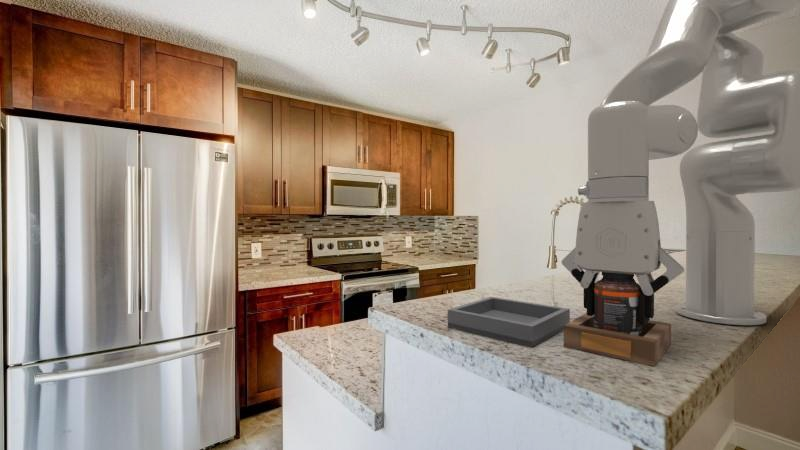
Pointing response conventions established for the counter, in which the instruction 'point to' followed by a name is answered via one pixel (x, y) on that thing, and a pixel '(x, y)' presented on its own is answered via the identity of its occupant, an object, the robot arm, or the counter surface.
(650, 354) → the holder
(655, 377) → the counter surface
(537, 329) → the tray
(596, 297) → the supplement bottle
